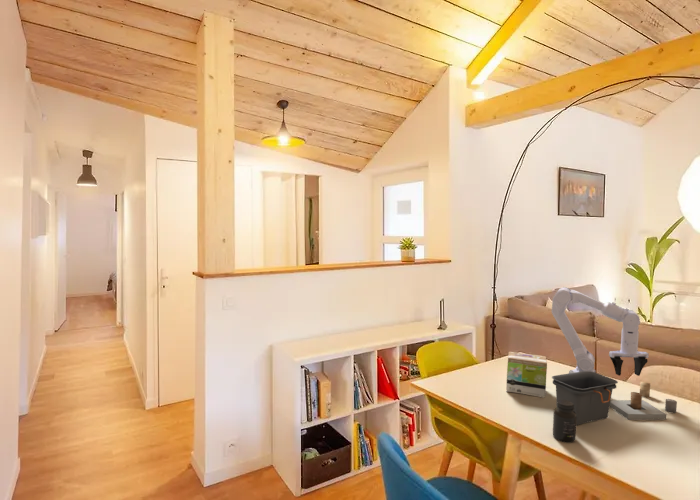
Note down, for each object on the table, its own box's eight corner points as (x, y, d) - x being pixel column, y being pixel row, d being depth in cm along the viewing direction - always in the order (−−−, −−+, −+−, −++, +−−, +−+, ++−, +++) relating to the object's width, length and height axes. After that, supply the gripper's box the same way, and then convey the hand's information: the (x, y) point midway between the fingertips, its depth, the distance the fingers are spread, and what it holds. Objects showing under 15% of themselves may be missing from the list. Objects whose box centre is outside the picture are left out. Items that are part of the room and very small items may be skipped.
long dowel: (633, 413, 158) (634, 395, 158) (628, 409, 162) (629, 391, 161) (643, 414, 158) (643, 395, 157) (637, 410, 161) (638, 392, 161)
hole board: (627, 419, 153) (628, 414, 153) (607, 405, 165) (607, 400, 165) (666, 419, 154) (666, 414, 154) (643, 405, 166) (643, 400, 166)
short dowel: (669, 413, 159) (670, 402, 159) (662, 409, 162) (663, 398, 162) (678, 413, 159) (679, 402, 159) (671, 409, 163) (672, 398, 162)
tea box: (506, 392, 177) (507, 357, 176) (506, 383, 186) (508, 350, 185) (545, 398, 172) (547, 362, 171) (544, 389, 181) (546, 355, 180)
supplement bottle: (548, 433, 143) (549, 398, 142) (567, 432, 144) (569, 397, 143) (560, 443, 136) (561, 407, 136) (580, 442, 137) (582, 406, 136)
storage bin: (586, 405, 166) (588, 369, 165) (625, 422, 151) (627, 383, 150) (545, 414, 157) (547, 376, 156) (583, 433, 143) (585, 392, 142)
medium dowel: (643, 397, 173) (644, 384, 173) (637, 394, 176) (638, 381, 176) (651, 397, 173) (652, 384, 173) (645, 394, 176) (646, 381, 176)
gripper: (617, 344, 166) (615, 378, 167) (654, 344, 166) (652, 378, 167) (606, 339, 173) (604, 371, 174) (642, 339, 173) (640, 372, 174)
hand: (627, 374), depth 171 cm, fingers open, 7 cm apart
